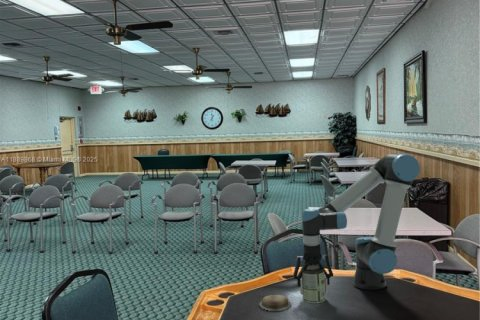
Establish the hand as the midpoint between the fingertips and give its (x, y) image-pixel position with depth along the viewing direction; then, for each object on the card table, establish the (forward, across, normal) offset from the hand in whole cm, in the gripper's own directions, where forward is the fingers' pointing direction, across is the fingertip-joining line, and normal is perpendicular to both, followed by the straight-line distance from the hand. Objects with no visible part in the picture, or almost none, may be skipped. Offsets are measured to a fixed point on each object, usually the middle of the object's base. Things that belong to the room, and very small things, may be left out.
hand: (313, 292), depth 195 cm
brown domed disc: (+3, +18, +4) cm, 19 cm away
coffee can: (+3, 0, 0) cm, 3 cm away
